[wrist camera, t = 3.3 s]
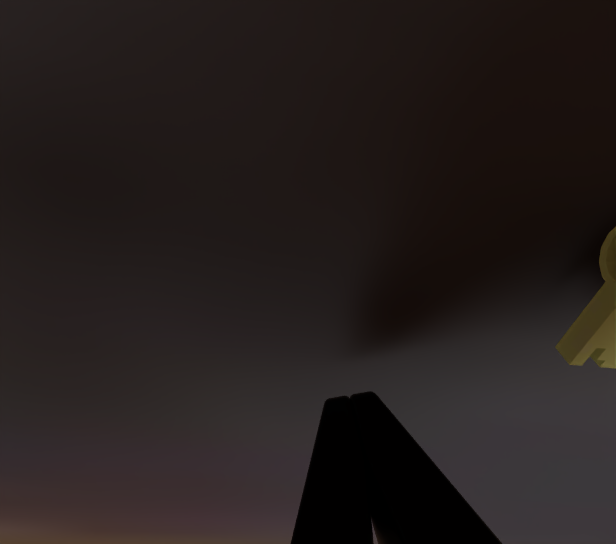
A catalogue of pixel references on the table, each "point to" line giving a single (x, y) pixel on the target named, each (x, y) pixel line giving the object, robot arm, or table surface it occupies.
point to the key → (596, 318)
